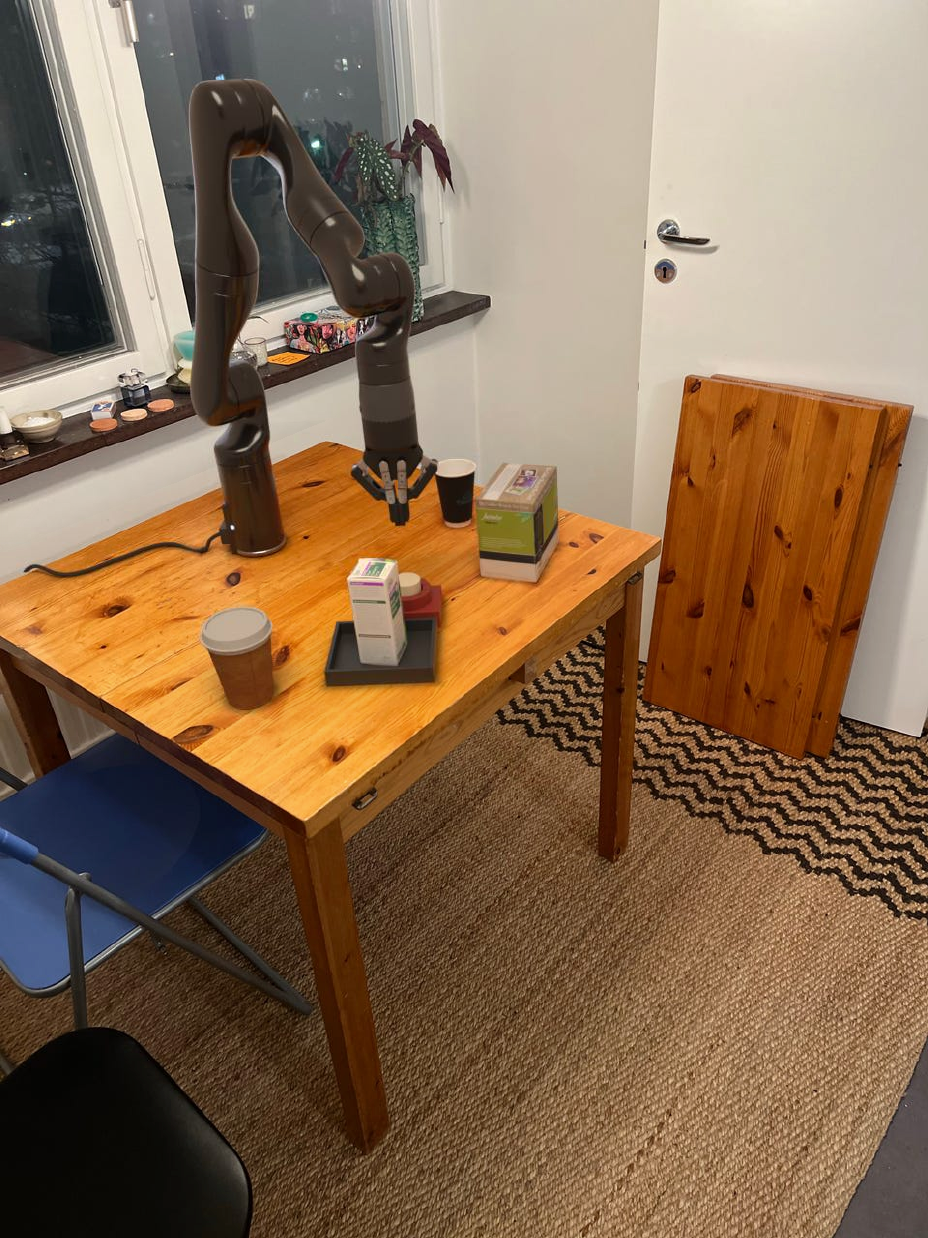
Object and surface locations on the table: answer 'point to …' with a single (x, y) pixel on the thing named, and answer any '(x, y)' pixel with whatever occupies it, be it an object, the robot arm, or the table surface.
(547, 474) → the tea box
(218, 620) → the disposable coffee cup
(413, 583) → the button
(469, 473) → the dixie cup
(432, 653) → the tray
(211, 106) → the robot arm
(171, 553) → the table surface
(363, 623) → the syrup box
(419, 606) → the red square pod holder
